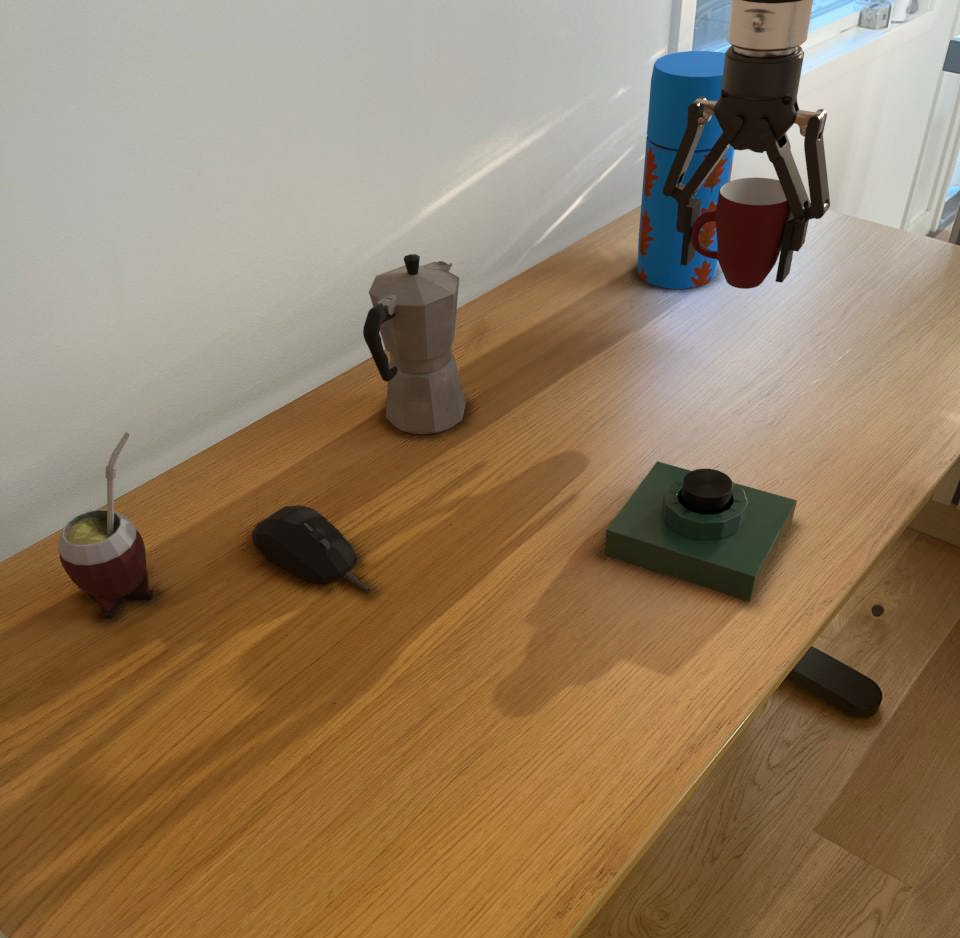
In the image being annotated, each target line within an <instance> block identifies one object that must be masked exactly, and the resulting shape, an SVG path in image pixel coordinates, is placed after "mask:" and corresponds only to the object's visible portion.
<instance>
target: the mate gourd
mask: <svg viewBox="0 0 960 938" xmlns="http://www.w3.org/2000/svg"><path fill="white" fill-rule="evenodd" d="M129 438H130V433H128V432H127V431H126V432H125V433H124V434H123V436H122V437H121V438H120V439H119V442H118V443H117V445H116V446H115V448H114V449H113V451H112V452H111V456H110V457H109V460H108V463H107V465H106V466H105V476H104V477H105V479H106V504H107V505H106V509H101V508H100V509H93V510H87V511H85V512H83V513H80V514H78V515H76V516H74V517H73V518H72V519H70V520H69V521H68V522H67V523H66V524H65V526H64V527H63V529H62V530H61V532H60V535H59V539H58V549H57V551H58V554H59V561H60V564H61V567H62V568H63V569H64V571H65V573H66V574H67V576H68V577H69V579H70V580H71V581H72V583H74V585H75V586H76V587H77V588H78V589H80V590H81V591H82V592H84V593H86V594H88V596H91V597H93V598H94V599H95V601H96V602H97V603H98V604H99V605H100V606H101V607H102V609H104V610H103V611H102V616H103V618H105V619H113V617H114V616H115V614H116V613H117V611H118V609H119V607H120V606H121V604H122V602H123V601H124V600H126V599H127V600H128V599H131V600H144V601H145V600H146V601H151V600H152V599H153V598H154V596H155V594H154V590H150V588H149V586H150V585H149V584H150V582H149V573H148V569H147V556H146V555H147V554H146V553H147V552H146V545H145V542H144V539H143V537H142V534H141V533H140V532H139V531H138V530H137V527H136V526H135V525H134V523H133V522H132V521H131V520H130V519H129V518H128V517H126V516H125V515H123V514H121V513H119V512H117V511H115V482H114V481H115V479H116V473H117V467H116V464H117V461H118V458H119V456H120V455H121V452H122V450H123V449H124V447H125V445H126V444H127V442H128V439H129Z"/></svg>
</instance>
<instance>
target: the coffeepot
mask: <svg viewBox="0 0 960 938" xmlns="http://www.w3.org/2000/svg"><path fill="white" fill-rule="evenodd" d="M420 261H421V256H420V255H418V254H417V253H410V254H409V253H408V254H407V255H404V257H403V262H404V265H402V266H399V267H396V268H394V269H390V270H389V271H385V272H383V273H379V274H376V275H375V277H374V279H373V281H372V284H371V286H370V288H369V290H368V295H369V297H370V300H371V304H372V307H371V308H370V309H369V310H368V312H367V315H366V318H365V321H364V324H363V330H362V334H363V339H364V341H365V343H366V345H367V347H368V350H369V352H370V355H371V357H372V359H373V362H374V364H375V366H376V369H377V371H378V373H379V375H380V377H381V379H382V381H383V382H387V389H386V405H385V406H386V407H385V419H386V420H388V422H389V423H390V424H391V425H392V426H393V427H394V428H396V429H398V430H399V431H402V432H405V433H407V434H408V433H409V434H414V435H431V434H438V433H441V432H444V431H448V430H450V429H452V428H453V427H455V426H456V425H457V424H459V423H460V422H462V421H463V417H464V415H465V409H466V405H467V401H466V397H465V393H464V390H463V386H462V381H461V378H460V377H461V376H460V373H459V370H458V366H457V362H456V357H455V356H454V355H453V352H452V351H453V349H452V347H453V344H454V340H455V335H456V323H457V322H456V321H457V310H458V299H459V298H458V297H459V286H460V277H459V276H458V275H456V274H454V273H453V272H451V268H452V266H453V263H451V262H449V263H447V262H445V261H443V260H439V261H432V262H429V263H427V264H423V265H420ZM384 349H385V350H386V351H387V352H388V353H389V357H388V355H387V353H386V352H385V350H384ZM389 358H390V360H389Z"/></svg>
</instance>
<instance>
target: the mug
mask: <svg viewBox="0 0 960 938" xmlns="http://www.w3.org/2000/svg"><path fill="white" fill-rule="evenodd" d="M791 216H792V212H791V210H790V207H789V205H788V202H787V199H786V197H785V194H784V192H783V189H782V186H781V184H780V181H779V179H776V178H775V179H773V178H768V177H745V178H744V177H743V178H737V179H733V180H730V182H728V183H726V184H724V185H723V186H722V187H721V188H720V190H719V196H718V202H717V208H716V211H707V212H705V213H703V214H702V215H700V216H699V217H698V218H697V220H696V221H695V223H694V225H693V227H692V231H691V242H692V245H693V247H694V249H695V250H696V251H697V252H698V253H699V254H701V255H703V256H705V257H708V258H712V259H717V260H718V265H719V266H720V267H719V268H720V269H721V272H722V275H723V276H724V280H725V282H726V284H728V285H729V286H730V287H733V288H736V289H742V290H748V289H755V288H757V287H759V286H760V285H762V283H763V282H764V281H765V280H766V278H767V277H768V276H769V274H770V273H771V271H772V270H773V269H774V267H775V265H776V264H777V261H778V260H779V257H780V252H781V246H782V241H783V235H784V229H785V223H786V221H787V220H788V219H789V218H790V217H791ZM707 222H715V223H716V231H717V251H713V250H710V249H707V248H706V247H704V246H703V245H702V243H701V241H700V230H701V228H702V226H703V225H704V224H705V223H707Z"/></svg>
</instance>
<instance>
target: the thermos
mask: <svg viewBox="0 0 960 938" xmlns="http://www.w3.org/2000/svg"><path fill="white" fill-rule="evenodd" d="M724 60H725V52H723V51H722V52H721V51H712V50H686V51H679V52H678V51H677V52H673V53H669V54H665V55H663V56H661V57H659V58H657V59H656V60H655V62H654V63H653V67H652V73H651V77H650V86H649V87H650V88H649V101H648V114H647V128H646V139H645V152H644V163H643V175H642V176H643V178H642V189H641V203H640V215H639V228H638V240H637V241H638V242H637V272H638V273H637V274H638V276H639V277H640V279H642V280H643V281H644V282H645V283H647V284H650V285H651V286H654V287H658V288H664V289H669V290H687V289H688V290H689V289H694V288H695V289H696V288H698V287H701V286H704V285H707V284H708V283H710V282H711V281H712V280H714V279H715V275H716V272H717V268H718V264H719V262H718V260H717V259H712V258H708V257H705V256H703V255H701V254H699V253H698V252H697V251H696V252H695V257H694V258H693V259H692V260H691V261H690V262H689V263H688V265H687V266H685V265H680V262H681V252H682V242H683V233H682V232H677V229H676V223H677V212H678V202H677V201H676V199H674V198H673V197H671V196H669V197H667V196H665V195H664V194H663V187H664V185H665V182H666V179H667V177H668V174H669V172H670V169H671V167H672V164H673V161H674V159H675V156H676V154H677V151H678V149H679V146H680V143H681V141H682V138H683V136H684V133H685V131H686V128H687V118H688V107H689V106H690V104H692V103H693V102H694V101H695V100H697V99H698V98H699V97H702V96H703V97H705V98H706V99H707V101H718V100H719V98H720V95H721V86H722V77H723V69H724ZM722 133H723V131H722V129H721V127H720V125H719V123H718V121H717V119H716V117H715V114H713V115H712V116H711V119H710V120H709V121H708V122H707V123H706V124H705V126H704V129H703V131H702V134H701V136H700V139H699V141H698V144H697V146H696V149H695V151H694V153H693V156H692V158H691V161H690V163H689V166H688V168H687V171H686V173H685V176H684V178H683V181H682V184H684V185H686V184H687V183H688V181H689V180H690V179H691V177H692V176H693V174H694V173H695V172H696V170H697V169H698V167H699V166H700V165H701V163H702V162H703V160H704V159H705V158H706V156H707V155H708V153H709V152H710V151H711V149H712V147H713V146H714V144H715V143H716V141H717V140H718V139H719V137H720V136H721V134H722ZM734 156H735V150H734V147H732V146H730V147H729V149H728V150H727V151H726V153H725V154H724V155H723V157H722V158H721V160H720V161H719V162H718V164H717V165H716V166H715V168H714V169H713V170H712V172H711V173H710V175H709V176H708V177H707V179H706V180H705V181H704V183H703V184H702V186H701V187H700V188H699V190H698V191H697V192H696V194H695V195H694V196H693V200H694V199H695V198H697V199H701V206H700V215H702V214H703V213H705V212H707V211H716V208H717V202H718V196H719V190H720V188H721V187H722V186H723V185H724V184H726V183H728V182H730V181H731V178H732V171H733V164H734ZM700 215H699V216H700ZM700 241H701V243H702V245H703V246H704V247H706V248H707V249H710V250H713V251H717V231H716V223H715V222H707V223H705V224H704V225H703V226H702V228H701V230H700Z"/></svg>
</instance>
